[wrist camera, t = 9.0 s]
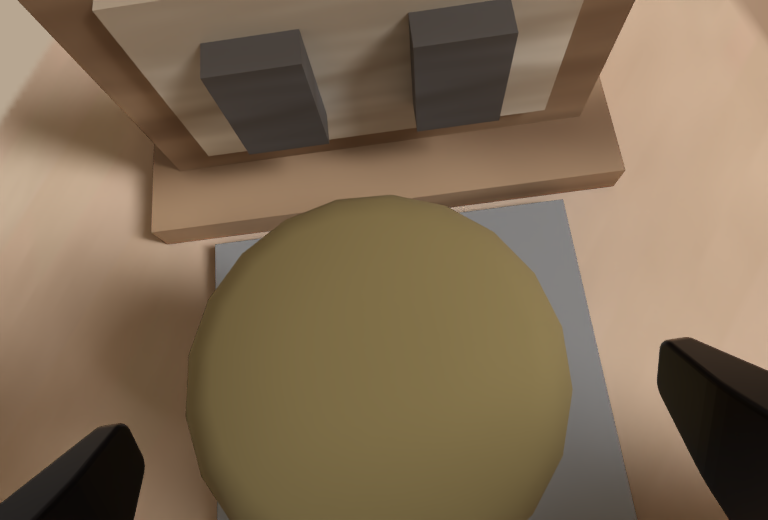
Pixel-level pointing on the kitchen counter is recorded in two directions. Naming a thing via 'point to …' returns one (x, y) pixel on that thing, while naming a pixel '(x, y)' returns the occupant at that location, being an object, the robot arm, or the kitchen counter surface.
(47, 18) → the switch panel
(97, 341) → the kitchen counter surface
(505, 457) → the cork
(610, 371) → the kitchen counter surface
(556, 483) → the mat
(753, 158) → the kitchen counter surface
